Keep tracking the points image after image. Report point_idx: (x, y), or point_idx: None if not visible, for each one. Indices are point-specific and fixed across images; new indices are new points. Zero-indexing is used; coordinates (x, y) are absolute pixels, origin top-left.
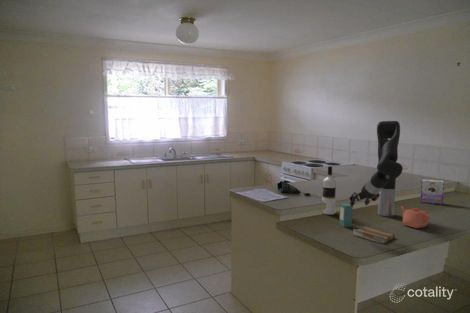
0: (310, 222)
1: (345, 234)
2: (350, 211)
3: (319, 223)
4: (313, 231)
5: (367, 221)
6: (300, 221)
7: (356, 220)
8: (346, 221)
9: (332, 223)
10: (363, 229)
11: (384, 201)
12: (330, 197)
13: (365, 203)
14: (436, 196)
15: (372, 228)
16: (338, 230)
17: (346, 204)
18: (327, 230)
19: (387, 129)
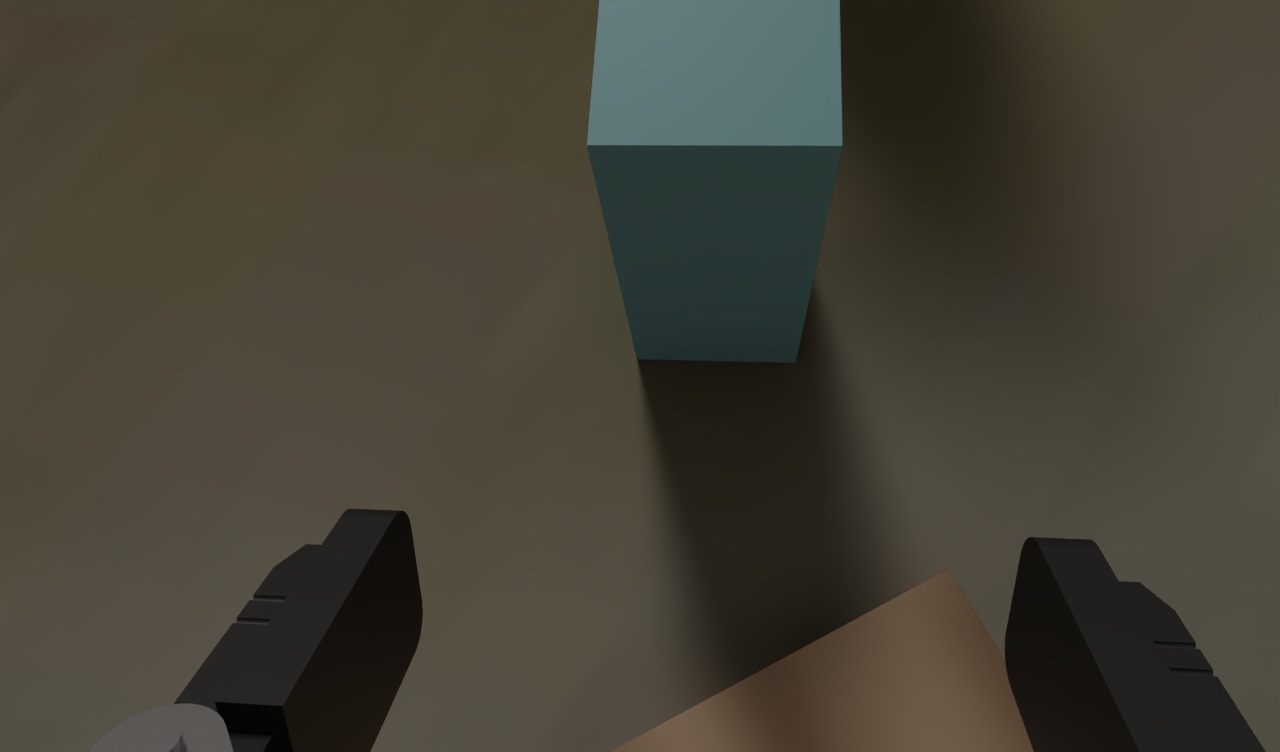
0: (261, 67)
1: (426, 717)
2: (766, 228)
3: (361, 130)
4: (26, 440)
5: (1237, 190)
6: (153, 5)
7: (1057, 110)
8: (682, 321)
9: (560, 167)
10: (799, 748)
11: None
12: None
13: (1023, 623)
14: None
15: (1029, 741)
16: (440, 494)
17: (732, 22)
18: (265, 450)
19: None
